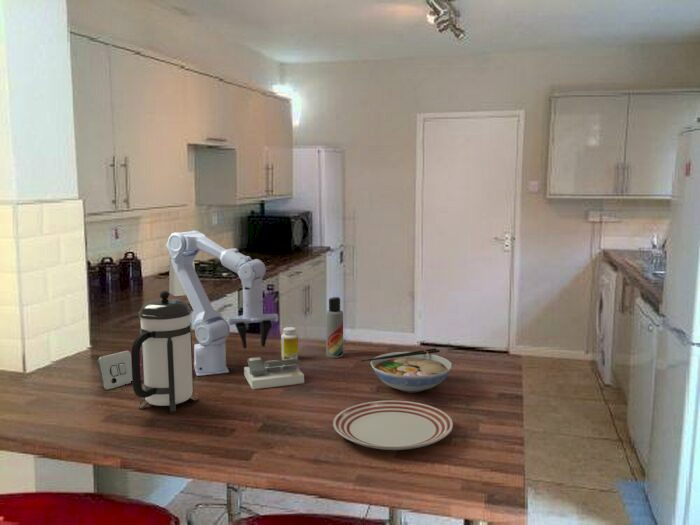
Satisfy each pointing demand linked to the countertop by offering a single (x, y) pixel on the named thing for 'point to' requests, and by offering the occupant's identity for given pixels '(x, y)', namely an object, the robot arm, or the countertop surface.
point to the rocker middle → (273, 363)
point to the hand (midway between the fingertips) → (253, 346)
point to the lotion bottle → (334, 329)
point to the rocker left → (256, 366)
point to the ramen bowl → (411, 369)
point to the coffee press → (164, 353)
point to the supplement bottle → (289, 343)
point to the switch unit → (275, 377)
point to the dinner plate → (393, 424)
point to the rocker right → (290, 361)
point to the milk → (175, 281)
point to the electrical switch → (115, 369)
